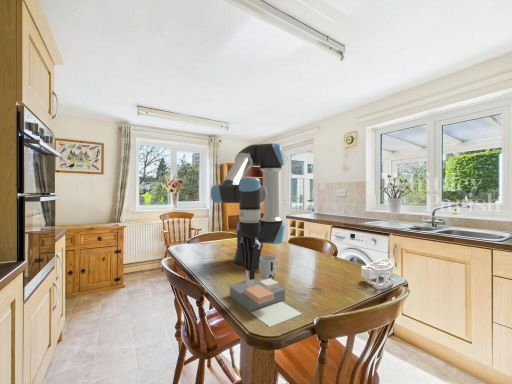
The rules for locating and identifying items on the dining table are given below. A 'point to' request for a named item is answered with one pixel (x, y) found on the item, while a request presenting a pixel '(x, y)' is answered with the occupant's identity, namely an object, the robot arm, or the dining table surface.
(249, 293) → the tile
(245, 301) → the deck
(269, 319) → the mat
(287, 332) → the dining table surface
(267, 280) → the small tile
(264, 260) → the cup
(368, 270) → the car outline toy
